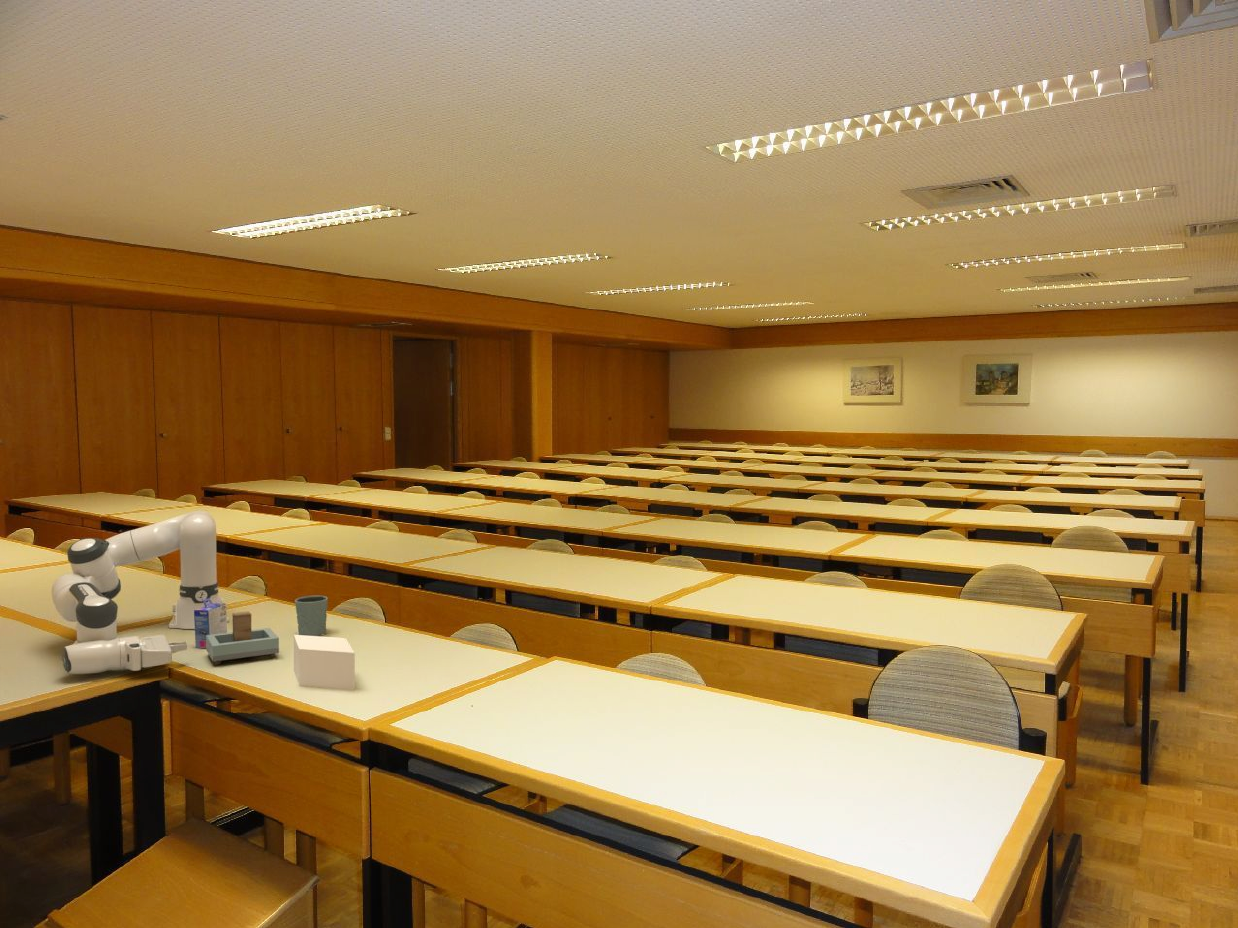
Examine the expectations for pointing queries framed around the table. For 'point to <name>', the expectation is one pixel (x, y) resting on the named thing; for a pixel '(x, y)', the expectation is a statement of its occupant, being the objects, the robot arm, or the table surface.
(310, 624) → the grey tapered cup
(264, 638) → the grey storage tray
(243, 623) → the walnut part
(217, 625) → the ink cartridge box
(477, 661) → the table surface
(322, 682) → the white rectangular block
